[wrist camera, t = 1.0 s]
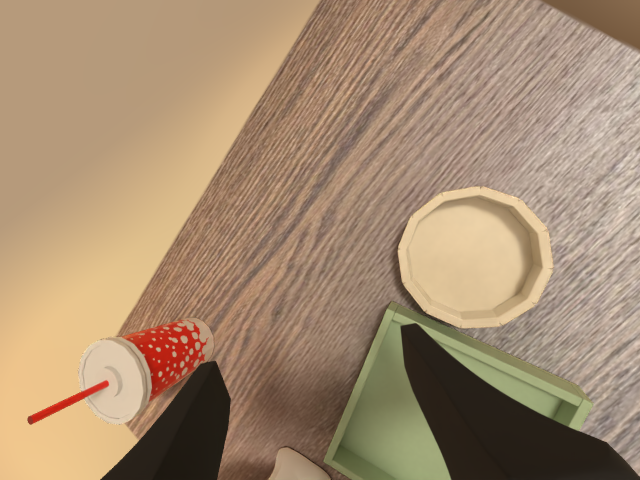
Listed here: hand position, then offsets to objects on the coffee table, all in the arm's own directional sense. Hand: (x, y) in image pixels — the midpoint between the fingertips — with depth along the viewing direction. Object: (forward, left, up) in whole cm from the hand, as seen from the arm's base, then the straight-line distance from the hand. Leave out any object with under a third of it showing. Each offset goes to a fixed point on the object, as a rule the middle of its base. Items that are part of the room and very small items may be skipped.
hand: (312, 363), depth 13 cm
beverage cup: (+14, +12, -15) cm, 24 cm away
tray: (-8, +7, -15) cm, 18 cm away
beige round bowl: (-5, -5, -15) cm, 16 cm away
